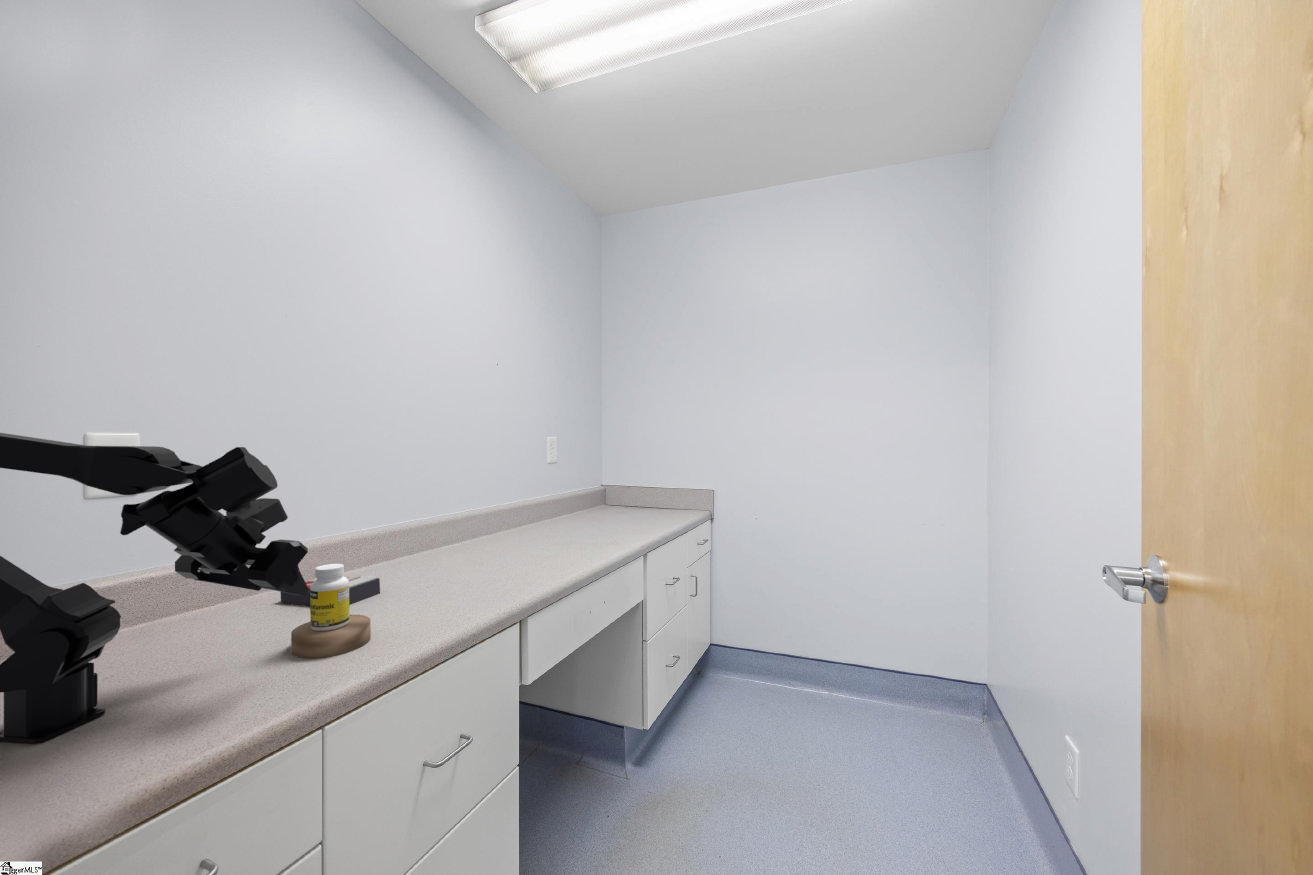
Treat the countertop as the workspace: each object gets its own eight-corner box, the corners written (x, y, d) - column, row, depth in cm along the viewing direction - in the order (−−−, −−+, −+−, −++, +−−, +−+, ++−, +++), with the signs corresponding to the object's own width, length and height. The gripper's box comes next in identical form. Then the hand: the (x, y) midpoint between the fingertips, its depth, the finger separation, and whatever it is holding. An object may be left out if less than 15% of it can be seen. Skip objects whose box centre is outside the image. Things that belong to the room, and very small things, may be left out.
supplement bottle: (302, 631, 82) (301, 570, 82) (328, 619, 87) (327, 561, 88) (332, 632, 81) (332, 570, 81) (357, 620, 87) (356, 562, 87)
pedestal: (339, 659, 78) (339, 639, 78) (273, 656, 80) (273, 637, 80) (384, 632, 89) (384, 615, 89) (326, 630, 91) (326, 613, 91)
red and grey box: (325, 573, 117) (380, 574, 113) (326, 592, 117) (381, 594, 113) (278, 587, 106) (338, 588, 103) (279, 608, 106) (339, 609, 103)
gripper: (294, 482, 69) (363, 548, 80) (199, 479, 75) (276, 541, 85) (230, 553, 62) (316, 615, 72) (130, 544, 67) (223, 603, 78)
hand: (283, 590), depth 77 cm, fingers open, 9 cm apart
